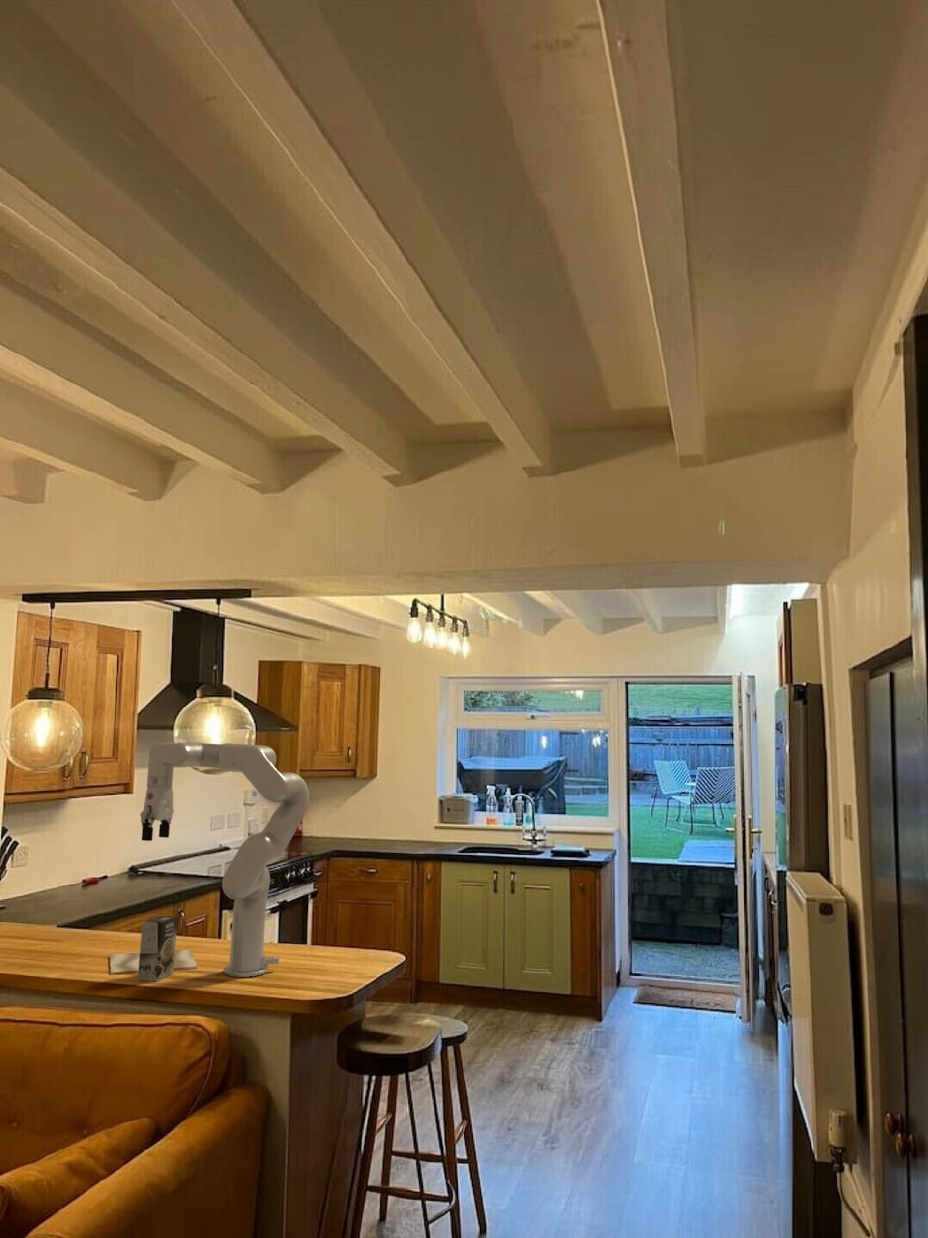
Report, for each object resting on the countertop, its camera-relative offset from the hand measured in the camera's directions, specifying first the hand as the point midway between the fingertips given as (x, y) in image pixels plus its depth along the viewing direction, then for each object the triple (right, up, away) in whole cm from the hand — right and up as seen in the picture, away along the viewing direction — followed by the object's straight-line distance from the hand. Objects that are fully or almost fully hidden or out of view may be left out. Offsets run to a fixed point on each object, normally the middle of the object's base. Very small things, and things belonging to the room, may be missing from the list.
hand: (155, 839), depth 269 cm
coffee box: (+7, -35, -19) cm, 40 cm away
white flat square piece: (0, -37, -3) cm, 37 cm away
